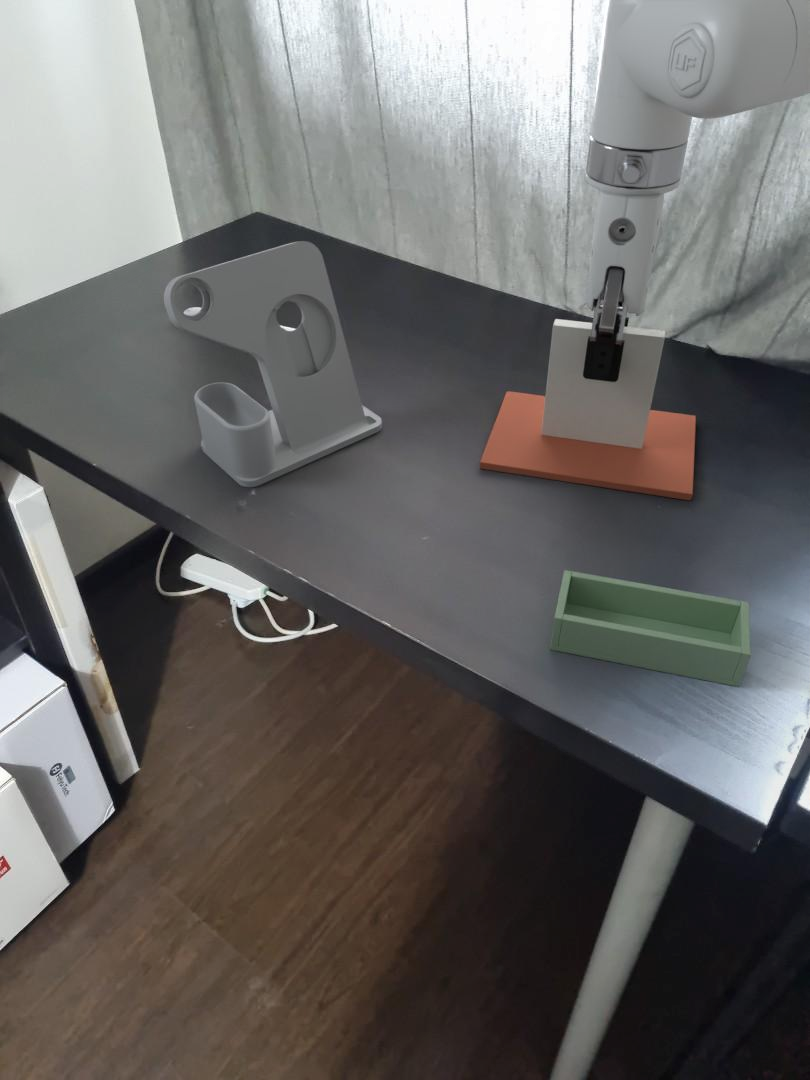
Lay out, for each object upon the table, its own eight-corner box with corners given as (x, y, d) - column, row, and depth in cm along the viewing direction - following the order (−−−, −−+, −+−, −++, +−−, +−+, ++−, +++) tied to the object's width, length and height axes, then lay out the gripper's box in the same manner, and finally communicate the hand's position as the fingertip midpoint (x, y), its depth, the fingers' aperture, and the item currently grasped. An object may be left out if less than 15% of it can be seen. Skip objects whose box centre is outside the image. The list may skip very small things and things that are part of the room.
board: (643, 441, 83) (665, 330, 75) (642, 449, 82) (664, 337, 74) (543, 427, 85) (555, 318, 77) (541, 435, 84) (552, 325, 76)
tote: (737, 634, 64) (749, 602, 61) (738, 687, 60) (751, 654, 57) (559, 601, 67) (564, 569, 64) (549, 649, 63) (554, 617, 61)
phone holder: (243, 492, 78) (211, 315, 67) (192, 446, 85) (155, 276, 73) (387, 427, 87) (381, 259, 75) (331, 390, 93) (318, 229, 81)
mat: (694, 422, 87) (696, 415, 86) (691, 501, 76) (692, 494, 76) (506, 397, 91) (506, 390, 90) (479, 468, 81) (479, 462, 80)
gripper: (679, 199, 59) (636, 418, 71) (686, 136, 71) (649, 332, 83) (574, 191, 61) (549, 406, 73) (598, 131, 73) (574, 324, 85)
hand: (603, 365), depth 78 cm, fingers open, 3 cm apart
